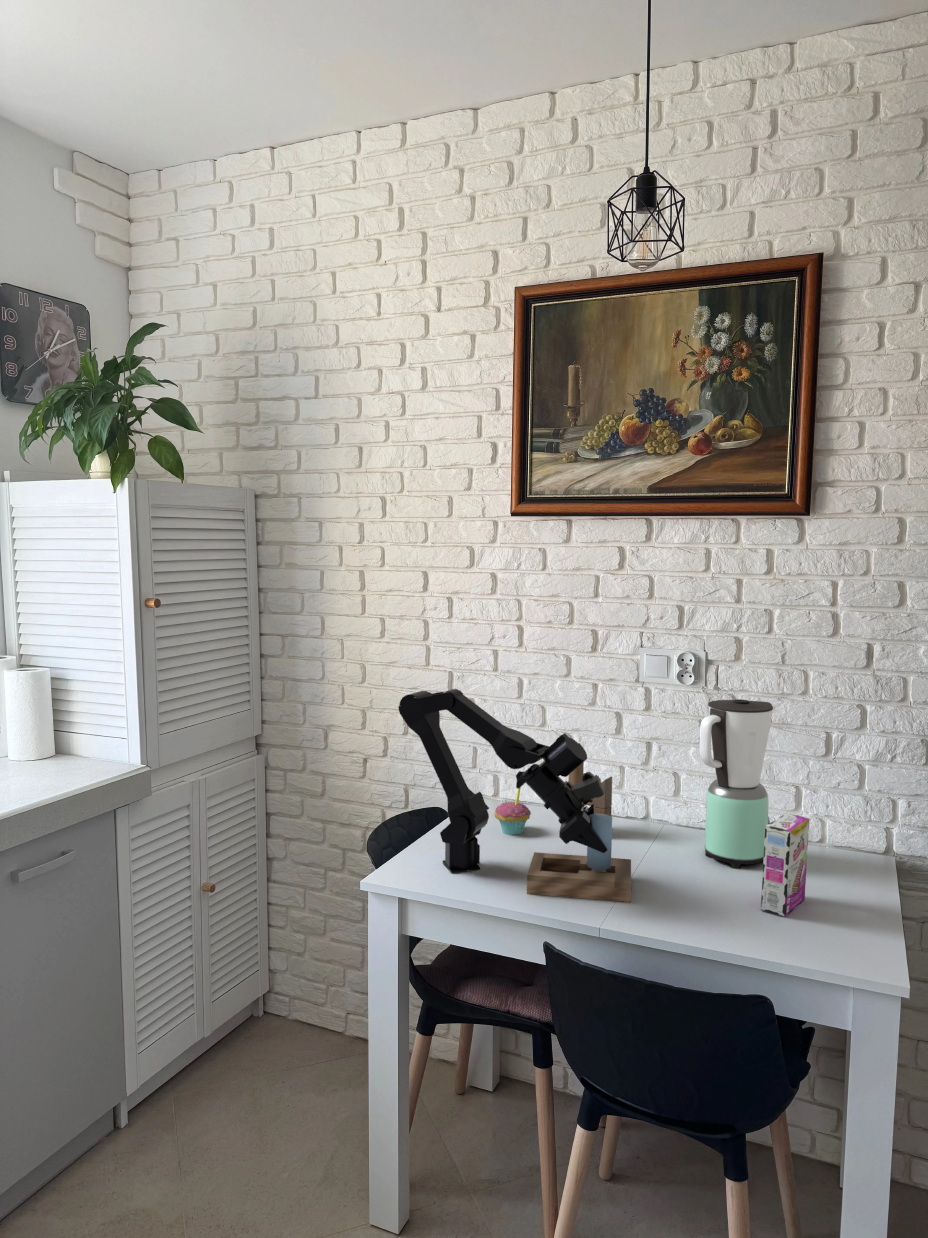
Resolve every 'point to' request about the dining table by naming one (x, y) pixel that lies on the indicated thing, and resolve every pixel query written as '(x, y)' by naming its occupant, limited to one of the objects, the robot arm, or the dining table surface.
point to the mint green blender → (736, 780)
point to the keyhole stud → (604, 831)
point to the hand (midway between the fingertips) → (606, 847)
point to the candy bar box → (784, 864)
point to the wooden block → (600, 803)
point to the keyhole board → (575, 889)
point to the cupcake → (512, 816)
